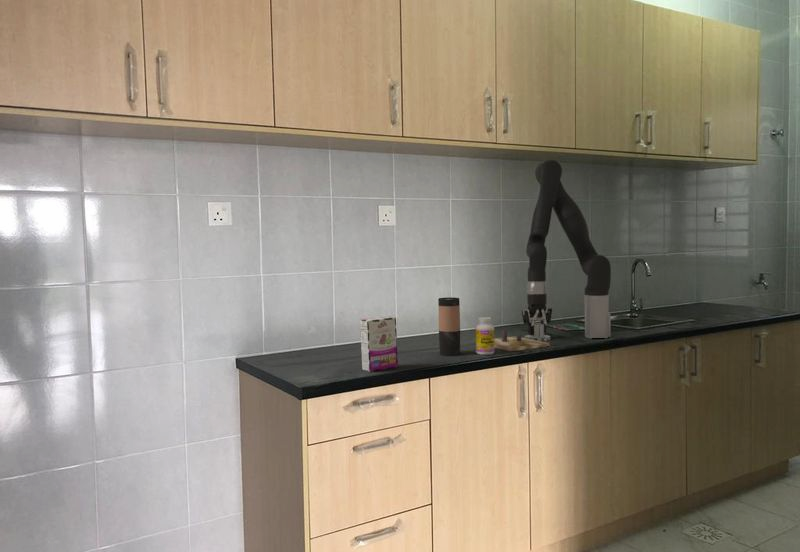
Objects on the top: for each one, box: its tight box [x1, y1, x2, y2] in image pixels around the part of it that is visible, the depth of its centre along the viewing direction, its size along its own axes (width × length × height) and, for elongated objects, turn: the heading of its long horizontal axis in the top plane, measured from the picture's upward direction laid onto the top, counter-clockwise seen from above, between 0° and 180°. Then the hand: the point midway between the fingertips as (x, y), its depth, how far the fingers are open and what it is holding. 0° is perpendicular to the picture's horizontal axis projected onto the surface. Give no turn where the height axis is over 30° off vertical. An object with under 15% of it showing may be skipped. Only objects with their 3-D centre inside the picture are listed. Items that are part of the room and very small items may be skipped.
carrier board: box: [494, 329, 550, 352], centre depth 244 cm, size 18×21×6 cm
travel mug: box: [437, 296, 461, 357], centre depth 227 cm, size 8×8×20 cm
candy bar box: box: [359, 315, 399, 373], centre depth 205 cm, size 11×5×16 cm, turn 126°
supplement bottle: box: [474, 316, 495, 356], centre depth 227 cm, size 7×7×13 cm
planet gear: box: [524, 322, 551, 342], centre depth 256 cm, size 10×10×6 cm
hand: (537, 334), depth 256 cm, fingers closed on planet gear, 5 cm apart
